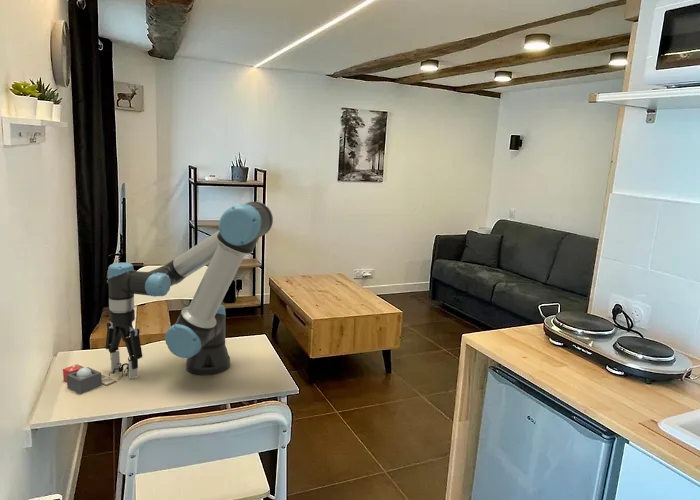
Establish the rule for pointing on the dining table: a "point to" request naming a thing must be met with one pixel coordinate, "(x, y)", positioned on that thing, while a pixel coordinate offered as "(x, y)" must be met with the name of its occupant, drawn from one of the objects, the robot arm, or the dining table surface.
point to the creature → (121, 368)
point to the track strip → (104, 379)
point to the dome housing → (84, 382)
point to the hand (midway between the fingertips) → (124, 373)
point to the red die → (69, 371)
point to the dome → (84, 372)
